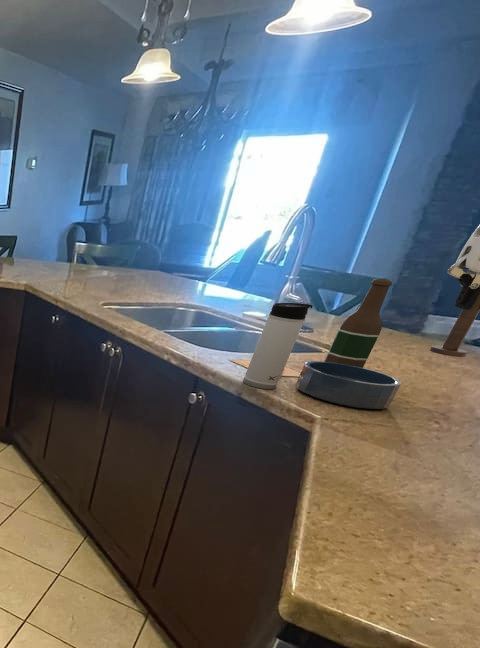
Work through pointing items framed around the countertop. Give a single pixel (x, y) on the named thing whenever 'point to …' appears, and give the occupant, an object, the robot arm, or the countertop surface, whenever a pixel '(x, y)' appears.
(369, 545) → the countertop surface
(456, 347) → the wooden post with base
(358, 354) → the beer bottle
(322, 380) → the bowl
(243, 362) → the tan flat slab
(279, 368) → the travel mug
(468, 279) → the robot arm
